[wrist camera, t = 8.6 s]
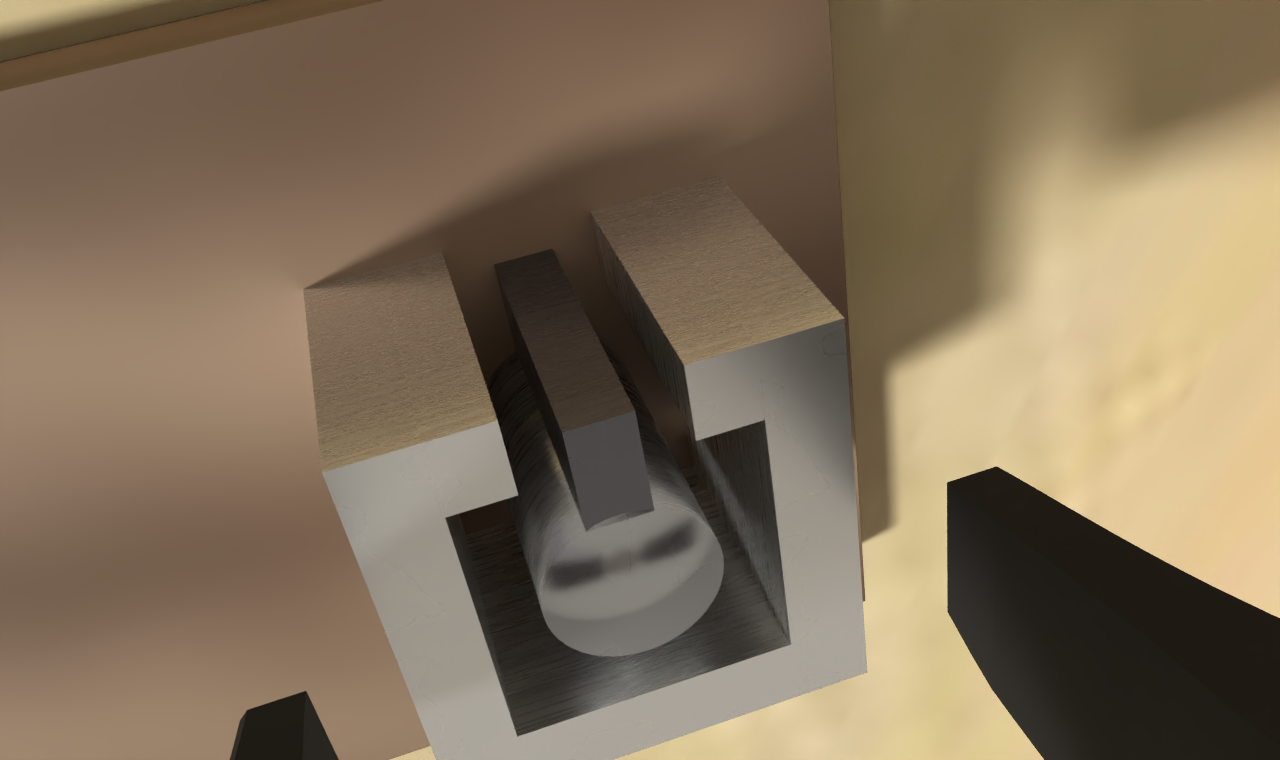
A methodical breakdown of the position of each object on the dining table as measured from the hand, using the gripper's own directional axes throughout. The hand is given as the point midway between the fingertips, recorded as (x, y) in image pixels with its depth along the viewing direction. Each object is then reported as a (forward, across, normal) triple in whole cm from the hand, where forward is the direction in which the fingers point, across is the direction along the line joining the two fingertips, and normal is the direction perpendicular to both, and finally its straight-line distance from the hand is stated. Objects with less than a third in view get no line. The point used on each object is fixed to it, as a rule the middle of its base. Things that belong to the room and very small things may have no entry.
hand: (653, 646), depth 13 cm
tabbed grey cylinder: (+5, 0, 0) cm, 5 cm away
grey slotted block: (+5, 0, 0) cm, 5 cm away
